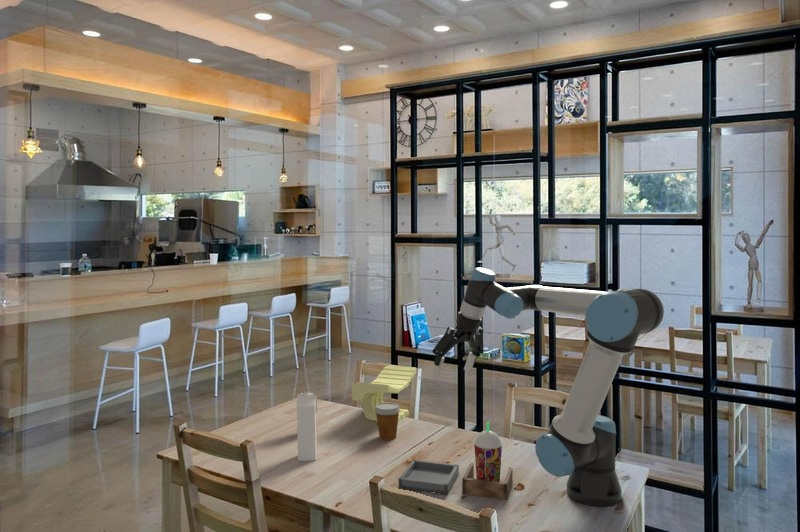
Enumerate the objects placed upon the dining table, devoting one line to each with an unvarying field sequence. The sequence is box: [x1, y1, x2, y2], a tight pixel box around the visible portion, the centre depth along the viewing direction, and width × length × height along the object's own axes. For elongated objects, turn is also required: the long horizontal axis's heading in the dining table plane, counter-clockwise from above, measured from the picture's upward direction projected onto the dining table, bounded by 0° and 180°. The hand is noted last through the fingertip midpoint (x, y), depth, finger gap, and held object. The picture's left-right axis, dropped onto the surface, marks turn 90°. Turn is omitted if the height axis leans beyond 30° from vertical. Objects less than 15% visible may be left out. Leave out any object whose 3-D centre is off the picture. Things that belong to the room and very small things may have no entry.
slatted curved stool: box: [351, 364, 417, 423], centre depth 239 cm, size 30×16×18 cm, turn 158°
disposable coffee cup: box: [375, 401, 401, 441], centre depth 215 cm, size 10×10×12 cm
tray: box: [398, 459, 460, 496], centre depth 177 cm, size 15×15×3 cm
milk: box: [296, 394, 318, 462], centre depth 196 cm, size 6×6×22 cm
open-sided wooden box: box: [461, 462, 514, 501], centre depth 171 cm, size 13×12×4 cm
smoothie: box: [473, 421, 503, 482], centre depth 171 cm, size 8×8×20 cm
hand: (451, 372), depth 189 cm, fingers open, 13 cm apart
